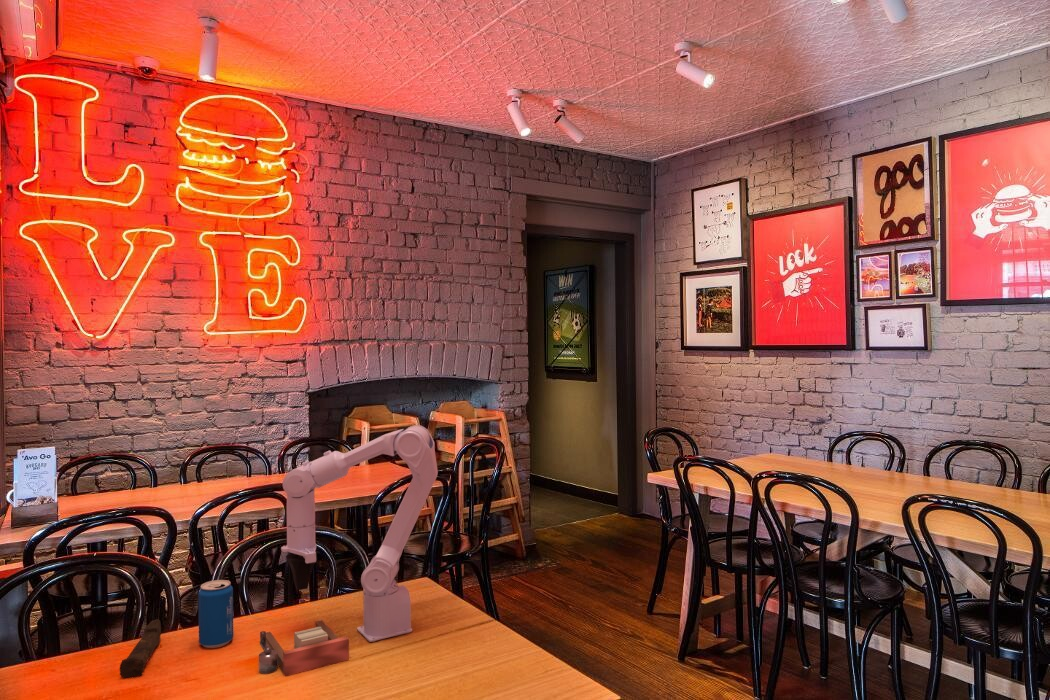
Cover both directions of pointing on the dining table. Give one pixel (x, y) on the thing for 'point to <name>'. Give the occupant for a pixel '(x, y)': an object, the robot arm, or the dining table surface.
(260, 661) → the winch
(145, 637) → the dark brown rough bar
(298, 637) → the crate
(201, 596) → the beverage can
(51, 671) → the dining table surface
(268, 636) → the bay
